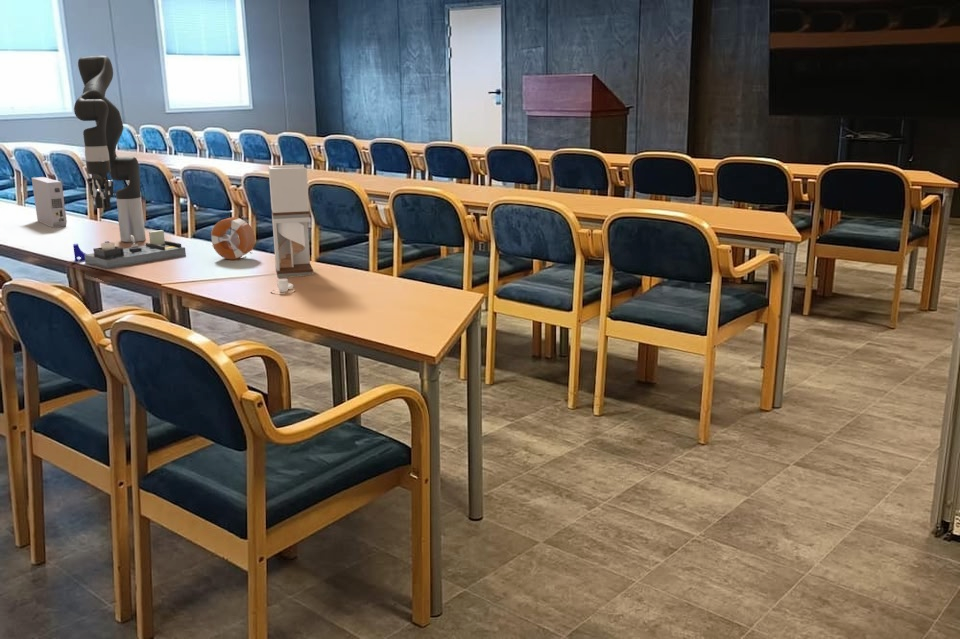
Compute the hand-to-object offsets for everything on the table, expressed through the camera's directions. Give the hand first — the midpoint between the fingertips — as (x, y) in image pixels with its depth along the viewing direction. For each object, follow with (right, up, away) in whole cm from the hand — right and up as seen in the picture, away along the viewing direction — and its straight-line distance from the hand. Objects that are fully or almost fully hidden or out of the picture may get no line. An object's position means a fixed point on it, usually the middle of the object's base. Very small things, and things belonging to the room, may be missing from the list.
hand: (103, 208), depth 308 cm
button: (0, -14, +4) cm, 15 cm away
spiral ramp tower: (+69, -23, -13) cm, 74 cm away
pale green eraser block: (+11, -11, +22) cm, 27 cm away
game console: (-62, +4, +93) cm, 112 cm away
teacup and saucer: (+74, -30, -37) cm, 88 cm away
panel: (+7, -17, +12) cm, 22 cm away
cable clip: (-10, -17, +14) cm, 24 cm away
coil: (+42, -17, +12) cm, 47 cm away
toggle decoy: (+7, -12, +11) cm, 18 cm away
